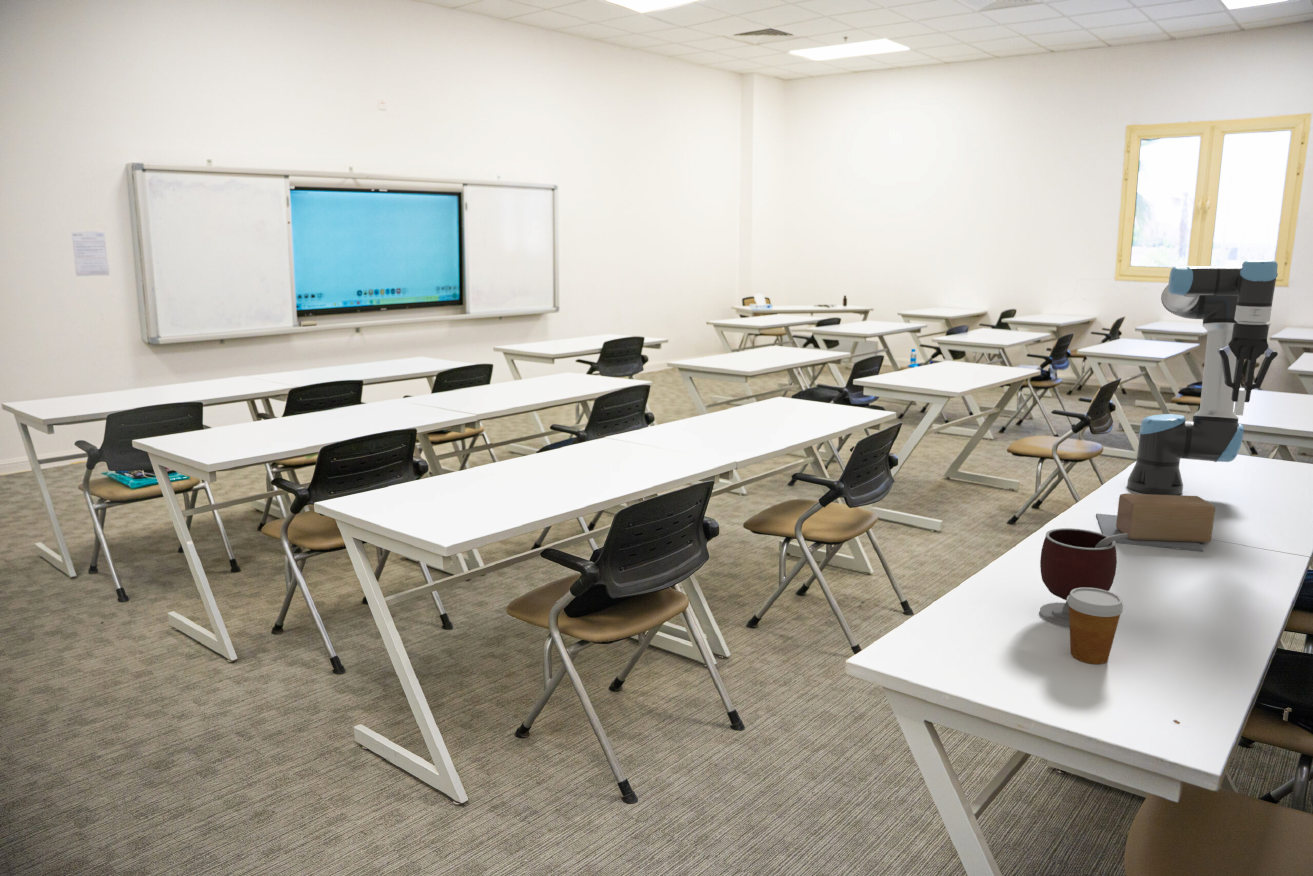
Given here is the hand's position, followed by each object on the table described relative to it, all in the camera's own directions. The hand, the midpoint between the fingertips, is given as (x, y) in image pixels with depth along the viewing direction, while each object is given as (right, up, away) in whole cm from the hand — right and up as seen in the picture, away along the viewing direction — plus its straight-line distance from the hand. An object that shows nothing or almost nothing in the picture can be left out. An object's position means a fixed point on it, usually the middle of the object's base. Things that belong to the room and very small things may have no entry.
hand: (1238, 414), depth 229 cm
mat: (-20, -31, +6) cm, 38 cm away
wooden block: (-9, -27, -1) cm, 28 cm away
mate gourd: (-64, -43, -47) cm, 91 cm away
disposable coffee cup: (-70, -47, -64) cm, 106 cm away
